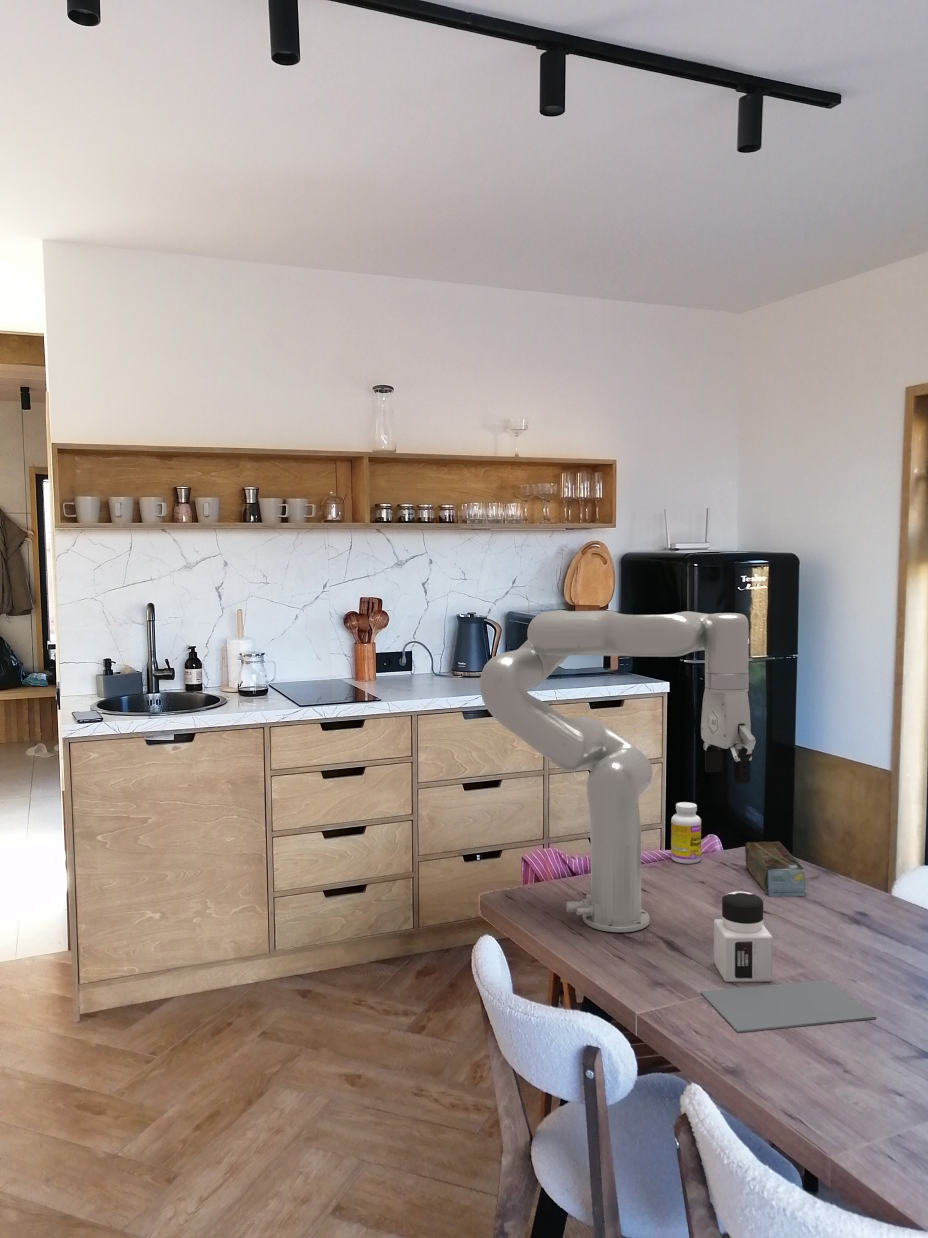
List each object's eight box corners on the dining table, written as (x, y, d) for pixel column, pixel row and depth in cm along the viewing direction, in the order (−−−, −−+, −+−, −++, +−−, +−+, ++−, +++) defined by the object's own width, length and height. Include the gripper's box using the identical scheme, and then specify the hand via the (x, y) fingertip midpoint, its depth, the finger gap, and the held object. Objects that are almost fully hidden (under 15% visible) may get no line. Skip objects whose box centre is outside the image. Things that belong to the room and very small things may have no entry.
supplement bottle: (691, 866, 215) (691, 810, 214) (665, 860, 219) (665, 805, 218) (706, 859, 220) (706, 804, 219) (680, 854, 224) (680, 799, 223)
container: (772, 982, 155) (773, 904, 155) (724, 982, 156) (725, 904, 155) (759, 962, 163) (759, 887, 162) (713, 963, 163) (713, 888, 162)
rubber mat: (737, 1033, 139) (737, 1031, 139) (700, 993, 152) (700, 991, 152) (876, 1019, 143) (876, 1017, 143) (828, 981, 155) (828, 979, 155)
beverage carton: (766, 898, 195) (766, 866, 195) (743, 868, 214) (743, 839, 214) (806, 898, 194) (806, 866, 194) (780, 868, 214) (780, 839, 213)
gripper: (684, 678, 179) (685, 769, 180) (732, 689, 162) (732, 789, 163) (721, 676, 180) (721, 766, 181) (772, 687, 164) (772, 786, 165)
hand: (726, 777), depth 172 cm, fingers open, 9 cm apart
